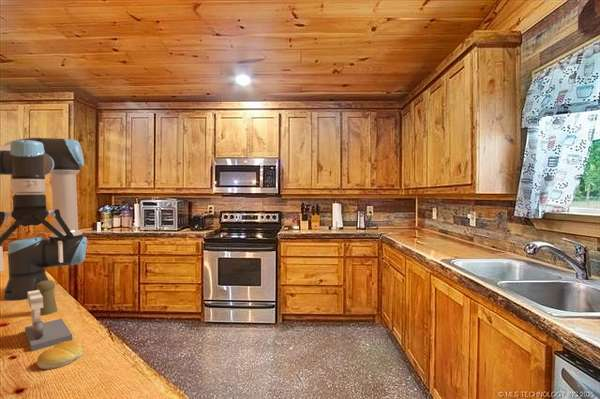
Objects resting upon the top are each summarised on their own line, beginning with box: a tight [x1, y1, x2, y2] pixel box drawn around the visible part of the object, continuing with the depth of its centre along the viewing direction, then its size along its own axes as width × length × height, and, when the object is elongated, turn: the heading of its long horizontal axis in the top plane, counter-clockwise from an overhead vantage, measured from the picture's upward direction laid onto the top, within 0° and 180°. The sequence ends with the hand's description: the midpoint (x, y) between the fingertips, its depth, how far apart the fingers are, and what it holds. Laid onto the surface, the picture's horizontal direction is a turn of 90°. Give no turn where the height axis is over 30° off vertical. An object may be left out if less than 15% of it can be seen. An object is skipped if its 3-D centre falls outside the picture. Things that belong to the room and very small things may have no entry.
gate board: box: [24, 318, 73, 352], centre depth 95 cm, size 17×9×2 cm, turn 44°
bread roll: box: [36, 340, 84, 370], centre depth 81 cm, size 8×9×4 cm
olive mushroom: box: [36, 279, 58, 316], centre depth 114 cm, size 6×6×11 cm
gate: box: [27, 290, 44, 338], centre depth 94 cm, size 12×3×10 cm, turn 44°
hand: (32, 265), depth 96 cm, fingers open, 13 cm apart
